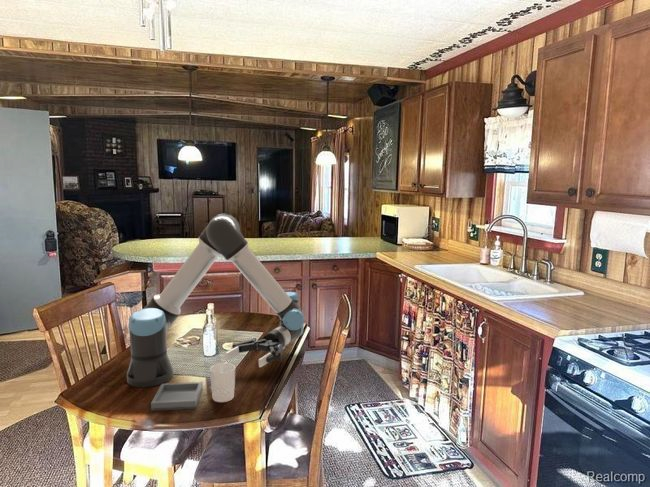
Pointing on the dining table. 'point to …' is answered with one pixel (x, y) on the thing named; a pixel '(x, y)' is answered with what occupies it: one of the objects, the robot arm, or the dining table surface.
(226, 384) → the white cup
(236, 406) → the dining table surface
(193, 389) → the charcoal tray
